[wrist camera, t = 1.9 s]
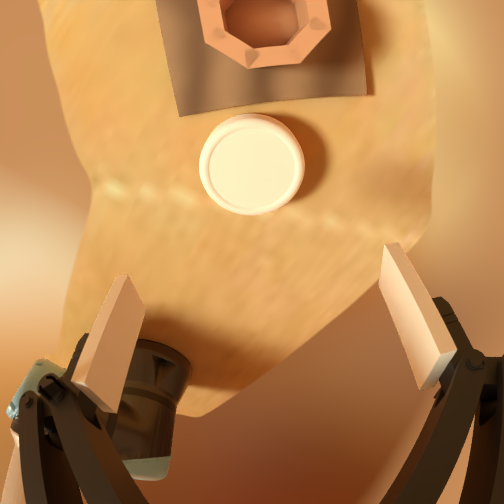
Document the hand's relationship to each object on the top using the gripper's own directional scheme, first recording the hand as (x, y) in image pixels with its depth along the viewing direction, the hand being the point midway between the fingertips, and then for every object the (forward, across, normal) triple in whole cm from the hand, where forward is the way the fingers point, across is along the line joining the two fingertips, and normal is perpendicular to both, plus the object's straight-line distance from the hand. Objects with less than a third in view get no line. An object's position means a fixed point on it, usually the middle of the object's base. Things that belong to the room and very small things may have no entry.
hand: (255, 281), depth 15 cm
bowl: (+17, +3, +14) cm, 22 cm away
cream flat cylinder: (+19, 0, 0) cm, 19 cm away
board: (+18, +3, +14) cm, 23 cm away
